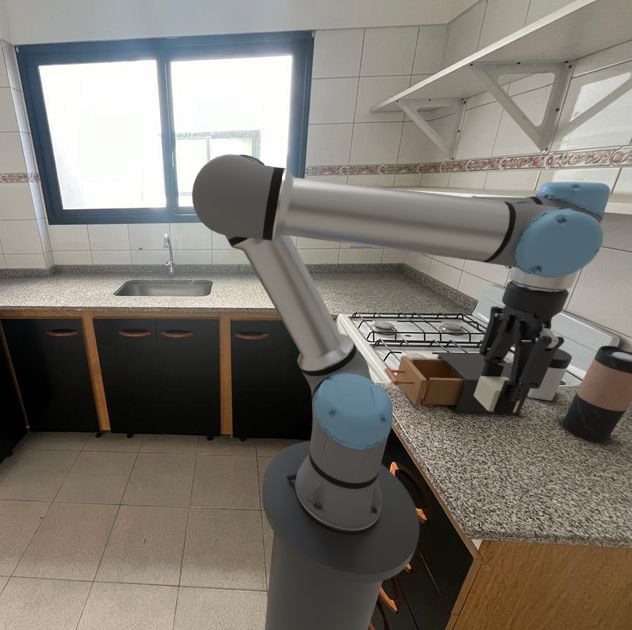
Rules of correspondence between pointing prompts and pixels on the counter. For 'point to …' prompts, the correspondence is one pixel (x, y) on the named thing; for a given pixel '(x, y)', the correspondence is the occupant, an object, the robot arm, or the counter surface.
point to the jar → (552, 376)
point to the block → (490, 391)
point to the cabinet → (474, 381)
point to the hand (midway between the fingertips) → (493, 402)
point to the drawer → (427, 381)
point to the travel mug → (601, 395)
